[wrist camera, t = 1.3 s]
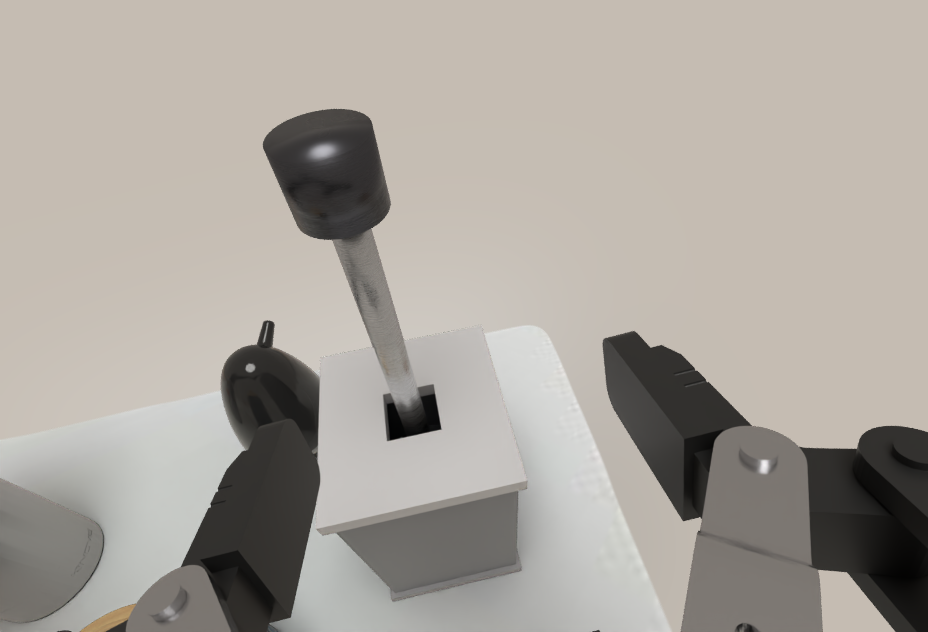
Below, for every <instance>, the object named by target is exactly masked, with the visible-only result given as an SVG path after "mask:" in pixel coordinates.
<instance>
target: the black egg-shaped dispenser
mask: <svg viewBox="0 0 928 632" xmlns="http://www.w3.org/2000/svg"><path fill="white" fill-rule="evenodd" d="M274 326H275V325H274V322H272V321H264V322H263V326H262V329H261V332H260V336H259V339H258V342H257V345H250V346H246V347H242V348H240V349H238V350H237V351H235V352H234V353H233V354H232V355H231V356H230V357H229V358H228V359H227V361H226V363H225V365H224V367H223V370H222V374H221V394H222V400H223V404H224V408H225V411H226V414H227V417H228V420H229V423H230V425H231V427H232V429H233V431H234V433H235V435H236V436H237V438H238V440H239V441H240V443H241V444H242V446H243V447H244V448H245V450H248V449H249V446H250V444H251V442H252V440H253V437H254V435H255V433H256V431H257V429H258V428H259V427H260V426H263V425H266V424H270V423H274V422H278V421H282V420H286V419H292V420H294V421H295V422H296V424H297V426H298V427H299V429H300V431H301V433H302V435H303V436H304V438H305V440H306V442H307V444H308V445H309V447H310V449H311V451H312V453H313V454H315V453H316V452H318V429H319V393H320V378H319V376H318V375H317V374H316V373H315V372H314V371H312V370H311V369H310V368H309V367H308V366H306V365H305V364H304V363H302V362H301V361H300V360H298V359H297V358H295V357H293V356H292V355H290V354H288V353H286V352H284V351H282V350H279V349H276V348H273V347H272V345H273V335H274Z"/></svg>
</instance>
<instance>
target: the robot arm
mask: <svg viewBox="0 0 928 632" xmlns="http://www.w3.org/2000/svg"><path fill="white" fill-rule="evenodd" d="M603 354H604V364H605V374H606V385H607V391H608V395H609V398H610V401H611V404H612V406H613V408H614V410H615V412H616V414H617V415H618V417H619V419H620V420H621V422H622V423H623V425H624V427H625V428H626V430H627V431H628V433H629V435H630V436H631V438H632V440H633V441H634V443H635V444H636V446H637V448H638V449H639V451H640V452H641V454H642V456H643V457H644V459H645V460H646V462H647V464H648V465H649V467H650V469H651V470H652V472H653V473H654V475H655V477H656V478H657V480H658V481H659V483H660V485H661V486H662V488H663V490H664V491H665V493H666V494H667V496H668V497H669V499H670V501H671V502H672V504H673V506H674V507H675V509H676V510H677V512H678V514H679V515H680V517H681V519H682V520H683V521H686V520H690V519H694V518H698V517H701V519H702V523H701V528H700V531H698V533H697V537H696V542H695V548H694V554H693V560H692V567H691V573H690V579H689V584H688V591H687V597H686V603H685V609H684V615H683V621H682V627H681V632H823V629H822V610H821V592H820V579H819V573H818V570H828V571H839V572H847V573H848V574H849V575H850V576H851V578H852V579H853V580H854V581H855V582H856V584H857V585H858V586H859V587H860V589H861V590H862V591H863V592H864V594H865V595H866V596H867V597H868V599H869V600H870V601H871V602H872V603H873V605H874V606H875V607H876V608H877V610H878V611H879V612H880V613H881V614H882V616H883V617H884V618H885V619H886V621H887V622H888V623H889V624H890V625H891V627H892V628H893V629H894V630H895V632H928V432H925V431H922V430H918V429H914V428H908V427H901V426H883V427H877V428H873V429H871V430H868V431H867V432H865V433H864V434H863V435H862V436H861V438H860V440H859V443H858V447H857V449H824V448H802V447H798V446H797V445H796V444H795V443H794V442H793V441H792V440H790V439H789V438H787V437H786V436H784V435H782V434H780V433H778V432H775V431H773V430H770V429H766V428H762V427H756V426H752V425H750V423H749V422H748V421H746V419H745V418H744V417H743V416H742V415H740V413H739V412H738V411H737V410H736V409H735V408H734V407H733V406H732V405H731V404H730V403H729V402H728V401H727V400H726V399H725V398H724V397H723V396H722V395H721V394H720V393H719V392H718V391H717V390H716V389H715V388H714V387H713V386H712V385H711V384H710V383H709V382H706V379H705V378H704V377H703V376H702V375H701V374H700V373H699V372H698V371H695V368H694V367H693V366H692V365H691V364H690V363H689V362H688V361H687V360H686V359H685V358H684V357H683V356H682V355H681V354H679V353H677V352H675V351H673V350H671V349H668V348H666V347H664V346H662V345H660V346H656V347H652V348H650V347H649V346H648V345H647V344H646V342H645V341H644V340H643V339H642V338H641V337H640V336H639V335H638V334H637V333H636V332H635V331H633V332H628V333H624V334H620V335H616V336H613V337H608V338H605V339H604V340H603ZM319 487H320V469H319V465H318V462H317V460H316V458H315V456H314V454H313V453H312V451H311V449H310V447H309V445H308V444H307V442H306V440H305V438H304V436H303V435H302V433H301V431H300V429H299V427H298V426H297V424H296V422H295V421H294V420H292V419H286V420H282V421H278V422H274V423H270V424H266V425H263V426H260V427H259V428H258V429H257V431H256V433H255V435H254V437H253V440H252V442H251V444H250V446H249V449H248V450H246V451H242V452H241V454H240V455H239V456H238V457H237V458H236V459H235V461H234V462H233V463H232V464H231V465H230V466H229V468H228V469H227V470H226V472H225V474H224V476H223V478H222V481H221V483H220V485H219V487H218V492H216V493H215V495H214V498H213V500H212V502H211V508H208V510H207V512H206V515H205V517H204V519H203V521H202V523H201V525H200V527H199V529H198V532H197V534H196V536H195V538H194V540H193V542H192V544H191V546H190V549H189V551H188V553H187V555H186V557H185V559H184V561H183V563H182V566H181V567H180V568H178V569H176V570H174V571H172V572H170V573H168V574H167V575H165V576H164V577H162V578H161V579H159V580H158V581H157V582H156V583H155V584H153V585H152V586H151V587H150V588H149V589H148V590H147V591H146V592H145V594H144V595H143V596H142V597H141V598H140V600H139V601H138V602H137V604H136V605H135V607H134V608H133V610H132V612H131V614H130V616H129V619H128V620H126V621H124V622H122V623H120V624H118V625H117V626H115V627H113V628H111V629H109V630H107V631H106V632H267V630H268V626H269V623H271V622H275V621H279V620H283V619H287V618H291V614H292V609H293V605H294V600H295V596H296V591H297V586H298V582H299V577H300V573H301V568H302V564H303V559H304V555H305V550H306V546H307V541H308V537H309V532H310V528H311V523H312V519H313V514H314V510H315V505H316V501H317V496H318V492H319ZM102 548H103V535H102V531H101V529H100V527H99V526H98V524H97V523H95V522H94V521H92V520H91V519H89V518H86V517H84V516H82V515H80V514H78V513H75V512H73V511H71V510H69V509H67V508H65V507H63V506H61V505H58V504H56V503H54V502H52V501H50V500H47V499H45V498H43V497H41V496H38V495H36V494H34V493H32V492H30V491H27V490H25V489H23V488H21V487H19V486H16V485H14V484H12V483H10V482H8V481H5V480H3V479H1V478H0V619H1V620H6V621H12V622H30V621H34V620H38V619H40V618H42V617H45V616H47V615H49V614H51V613H52V612H54V611H56V610H57V609H59V608H60V607H62V606H63V605H64V604H65V603H67V602H68V601H69V600H70V599H71V598H72V597H73V596H74V595H75V594H76V593H77V592H78V591H79V590H80V589H81V588H82V587H83V586H84V584H85V583H86V582H87V580H88V579H89V578H90V576H91V574H92V573H93V571H94V569H95V568H96V566H97V563H98V561H99V558H100V556H101V552H102ZM58 632H71V631H68V630H67V631H58ZM593 632H600V631H599V630H597V631H593Z"/></svg>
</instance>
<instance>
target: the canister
mask: <svg viewBox="0 0 928 632" xmlns="http://www.w3.org/2000/svg"><path fill="white" fill-rule="evenodd" d="M135 605H136V604H133V605H129V606H125V607H122V608H120V609H117V610H115V611H112V612H110V613H108V614H106V615H104V616H102V617H101V618H99V619H97V620H96V621H94V622H92V623H91V624H89V625H88V626H87V627H85V628H84V629H82V630H81V631H80V632H106V631H107V630H109V629H111V628H113V627H115V626H117V625H118V624H120V623H122V622H124V621H126V620H128V619H129V616H130V614H131V612H132V610H133V608H134V607H135ZM267 632H278V631H277V630H276V629H275V628H274V627H272V626H271V625H269V626H268V630H267Z"/></svg>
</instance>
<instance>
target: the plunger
mask: <svg viewBox="0 0 928 632" xmlns="http://www.w3.org/2000/svg"><path fill="white" fill-rule="evenodd" d="M263 149H264V151H265V153H266V156H267V158H268V160H269V162H270V165H271V167H272V169H273V171H274V174H275V176H276V178H277V180H278V183H279V185H280V187H281V190H282V192H283V194H284V196H285V199H286V201H287V203H288V206H289V208H290V210H291V212H292V214H293V217H294V219H295V221H296V224H297V226H298V227H299V229H300V230H301V231H302V232H303V233H304V234H306V235H308V236H310V237H313V238H317V239H324V240H325V239H326V240H332V241H333V243H334V246H335V248H336V251H337V254H338V256H339V259H340V262H341V264H342V267H343V269H344V272H345V275H346V277H347V280H348V282H349V285H350V288H351V291H352V293H353V296H354V298H355V301H356V303H357V306H358V309H359V312H360V314H361V317H362V319H363V322H364V324H365V327H366V330H367V333H368V335H369V338H370V340H371V343H372V346H373V348H374V351H375V354H376V356H377V359H378V362H379V364H380V367H381V369H382V372H383V375H384V377H385V380H386V383H387V385H388V388H389V390H390V393H391V396H392V398H393V401H394V404H395V406H396V409H397V411H398V414H399V417H400V419H401V422H402V425H403V427H404V430H405V432H406V434H405V435H403V436H402V437H401V438H405V437H410V436H414V435H419V434H423V433H428V432H433V431H437V430H442V429H441V425H428V422H427V418H426V415H425V412H424V408H423V405H422V401H421V398H420V394H419V391H418V388H417V384H416V381H415V377H414V374H413V370H412V367H411V363H410V360H409V357H408V353H407V350H406V346H405V343H404V340H403V336H402V332H401V329H400V326H399V322H398V319H397V315H396V312H395V308H394V305H393V301H392V298H391V295H390V291H389V288H388V284H387V281H386V277H385V274H384V271H383V267H382V264H381V260H380V257H379V253H378V250H377V246H376V244H375V240H374V236H373V233H372V229H371V228H373V227H374V226H376V225H377V224H378V223H380V222H381V221H382V220H383V219H384V218H385V216H386V215H387V213H388V212H389V209H390V205H391V203H390V197H389V193H388V189H387V185H386V180H385V176H384V172H383V168H382V163H381V159H380V155H379V151H378V147H377V142H376V138H375V134H374V130H373V126H372V122H371V120H370V118H369V117H367V116H366V115H365V114H363V113H360V112H357V111H353V110H345V109H329V110H321V111H315V112H310V113H306V114H303V115H300V116H297V117H294V118H292V119H290V120H287V121H285V122H283V123H282V124H280V125H278V126H277V127H275V128H274V129H273V130H272V131H271V132H269V134H268V135H267V136H266V137H265V139H264V142H263Z"/></svg>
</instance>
